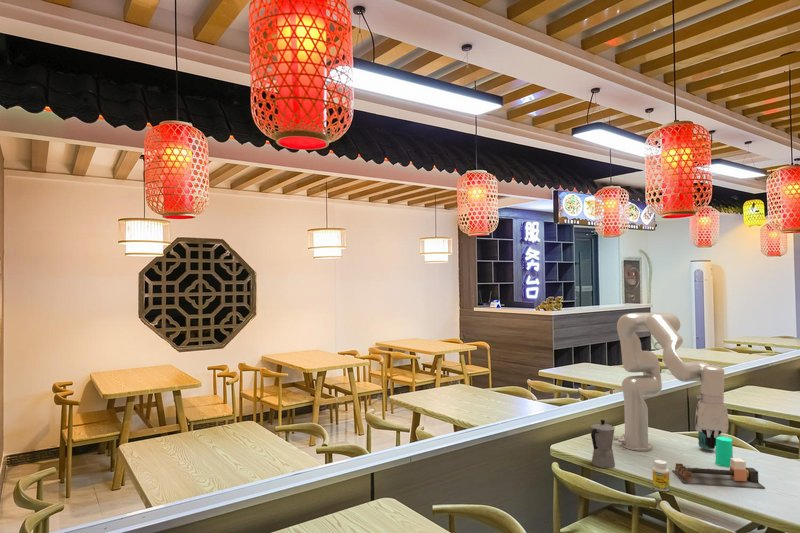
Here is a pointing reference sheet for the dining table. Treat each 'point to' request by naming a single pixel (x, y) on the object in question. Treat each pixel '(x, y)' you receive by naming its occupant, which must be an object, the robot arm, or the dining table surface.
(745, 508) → the dining table surface
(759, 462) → the dining table surface
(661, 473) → the supplement bottle
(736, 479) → the orange block
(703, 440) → the beverage bottle
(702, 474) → the linear slide rail
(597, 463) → the coffeepot
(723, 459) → the candle
